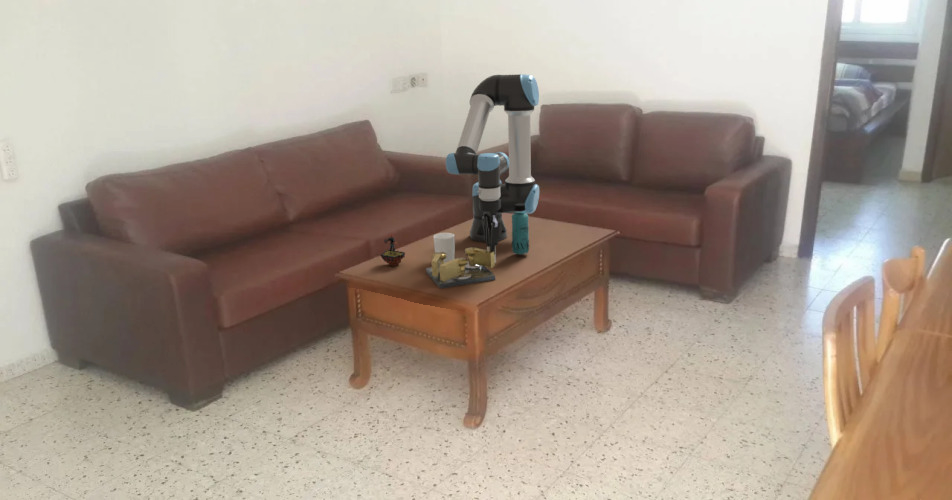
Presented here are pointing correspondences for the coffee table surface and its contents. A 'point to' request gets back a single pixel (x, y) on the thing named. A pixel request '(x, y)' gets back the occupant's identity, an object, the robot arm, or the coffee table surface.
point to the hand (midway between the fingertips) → (491, 262)
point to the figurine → (392, 253)
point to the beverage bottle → (520, 230)
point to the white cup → (445, 245)
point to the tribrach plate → (464, 276)
